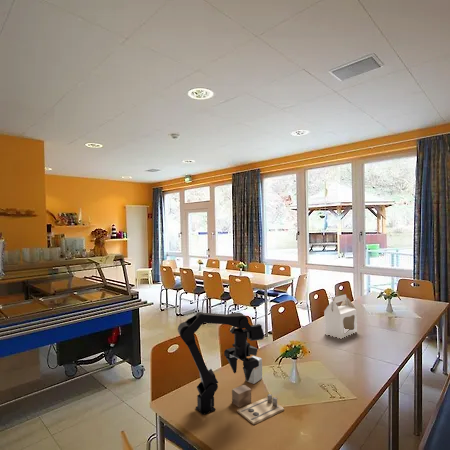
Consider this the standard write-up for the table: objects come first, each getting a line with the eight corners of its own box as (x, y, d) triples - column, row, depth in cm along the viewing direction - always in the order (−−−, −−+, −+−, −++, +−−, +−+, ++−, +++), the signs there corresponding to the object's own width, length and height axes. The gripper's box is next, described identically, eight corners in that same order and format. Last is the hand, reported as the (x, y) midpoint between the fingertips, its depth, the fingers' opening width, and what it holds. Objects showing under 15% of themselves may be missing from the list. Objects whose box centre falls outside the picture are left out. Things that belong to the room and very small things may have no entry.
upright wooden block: (238, 407, 135) (238, 394, 135) (232, 402, 139) (231, 389, 139) (251, 402, 139) (251, 389, 139) (244, 397, 143) (244, 384, 143)
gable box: (340, 328, 240) (339, 292, 241) (357, 332, 230) (356, 294, 231) (324, 334, 226) (323, 296, 227) (341, 339, 216) (340, 299, 217)
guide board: (253, 424, 123) (253, 415, 123) (237, 411, 132) (236, 402, 132) (284, 410, 132) (284, 401, 133) (266, 398, 142) (266, 390, 142)
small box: (253, 375, 165) (253, 355, 165) (262, 378, 161) (262, 358, 161) (244, 381, 159) (244, 360, 159) (254, 384, 155) (253, 363, 155)
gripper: (268, 344, 136) (268, 379, 136) (242, 332, 152) (242, 364, 151) (248, 349, 130) (248, 387, 130) (223, 337, 145) (223, 371, 145)
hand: (241, 376), depth 139 cm, fingers open, 9 cm apart
